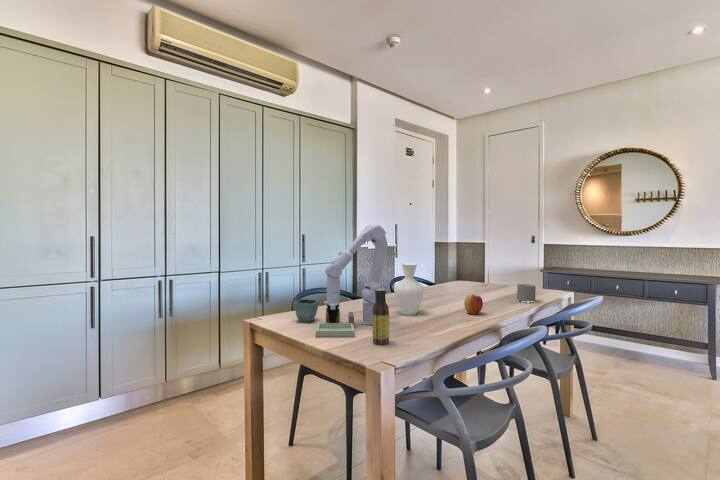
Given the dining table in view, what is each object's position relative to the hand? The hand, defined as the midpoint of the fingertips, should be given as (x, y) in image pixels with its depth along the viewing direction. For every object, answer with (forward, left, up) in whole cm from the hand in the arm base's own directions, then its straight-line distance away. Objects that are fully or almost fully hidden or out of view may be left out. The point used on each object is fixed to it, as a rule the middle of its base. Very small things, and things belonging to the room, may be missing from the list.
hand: (332, 322), depth 162 cm
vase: (-38, -23, -2) cm, 44 cm away
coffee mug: (-117, -54, -2) cm, 129 cm away
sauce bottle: (-18, +24, -2) cm, 30 cm away
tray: (-1, +11, -1) cm, 11 cm away
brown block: (0, 0, -1) cm, 1 cm away
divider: (-8, 0, -1) cm, 8 cm away
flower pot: (+12, -9, -2) cm, 15 cm away
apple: (-71, -22, -2) cm, 74 cm away
